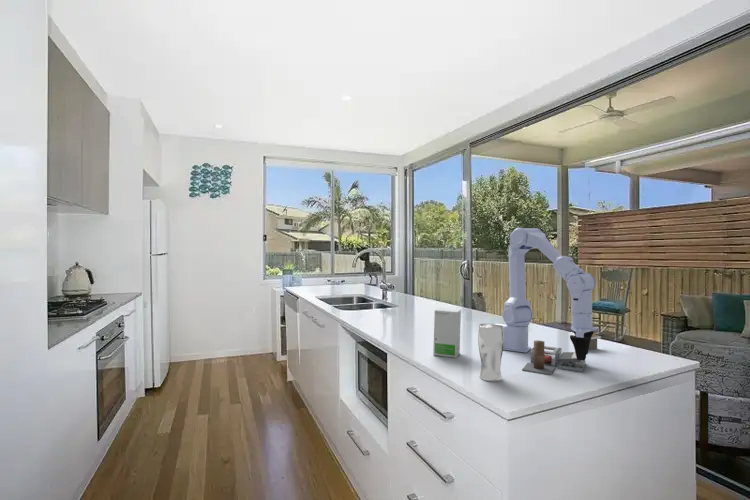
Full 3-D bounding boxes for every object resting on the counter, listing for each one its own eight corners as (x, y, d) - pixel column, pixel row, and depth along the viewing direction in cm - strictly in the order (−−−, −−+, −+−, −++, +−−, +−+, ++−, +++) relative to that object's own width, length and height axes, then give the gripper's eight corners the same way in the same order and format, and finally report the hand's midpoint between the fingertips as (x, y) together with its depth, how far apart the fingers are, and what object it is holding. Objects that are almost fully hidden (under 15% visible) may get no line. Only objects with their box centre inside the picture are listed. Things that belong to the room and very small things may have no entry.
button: (540, 361, 130) (540, 356, 130) (541, 359, 133) (541, 354, 133) (550, 362, 128) (550, 357, 128) (552, 360, 131) (552, 355, 131)
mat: (522, 370, 121) (522, 369, 121) (527, 363, 128) (527, 362, 128) (550, 375, 117) (550, 373, 117) (555, 368, 124) (555, 366, 124)
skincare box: (432, 355, 138) (432, 310, 138) (437, 350, 144) (437, 307, 144) (457, 358, 135) (457, 311, 134) (461, 353, 141) (461, 308, 141)
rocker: (559, 362, 124) (558, 358, 124) (563, 355, 131) (562, 351, 131) (581, 362, 120) (580, 358, 120) (583, 355, 128) (583, 351, 128)
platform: (554, 348, 149) (554, 330, 149) (591, 344, 155) (591, 327, 155) (581, 356, 138) (581, 337, 138) (619, 352, 144) (620, 333, 144)
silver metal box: (529, 364, 128) (529, 351, 128) (535, 356, 136) (535, 345, 136) (582, 372, 120) (582, 358, 120) (585, 363, 128) (585, 351, 128)
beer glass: (488, 383, 110) (489, 328, 109) (473, 376, 116) (473, 324, 116) (509, 380, 112) (509, 326, 112) (492, 373, 119) (492, 322, 119)
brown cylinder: (532, 368, 122) (532, 341, 122) (534, 365, 125) (535, 340, 125) (542, 370, 120) (543, 343, 120) (545, 367, 123) (545, 341, 123)
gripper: (594, 316, 116) (595, 364, 116) (597, 310, 128) (598, 353, 128) (567, 315, 120) (568, 361, 119) (573, 309, 132) (574, 350, 132)
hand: (582, 356), depth 124 cm, fingers open, 7 cm apart
